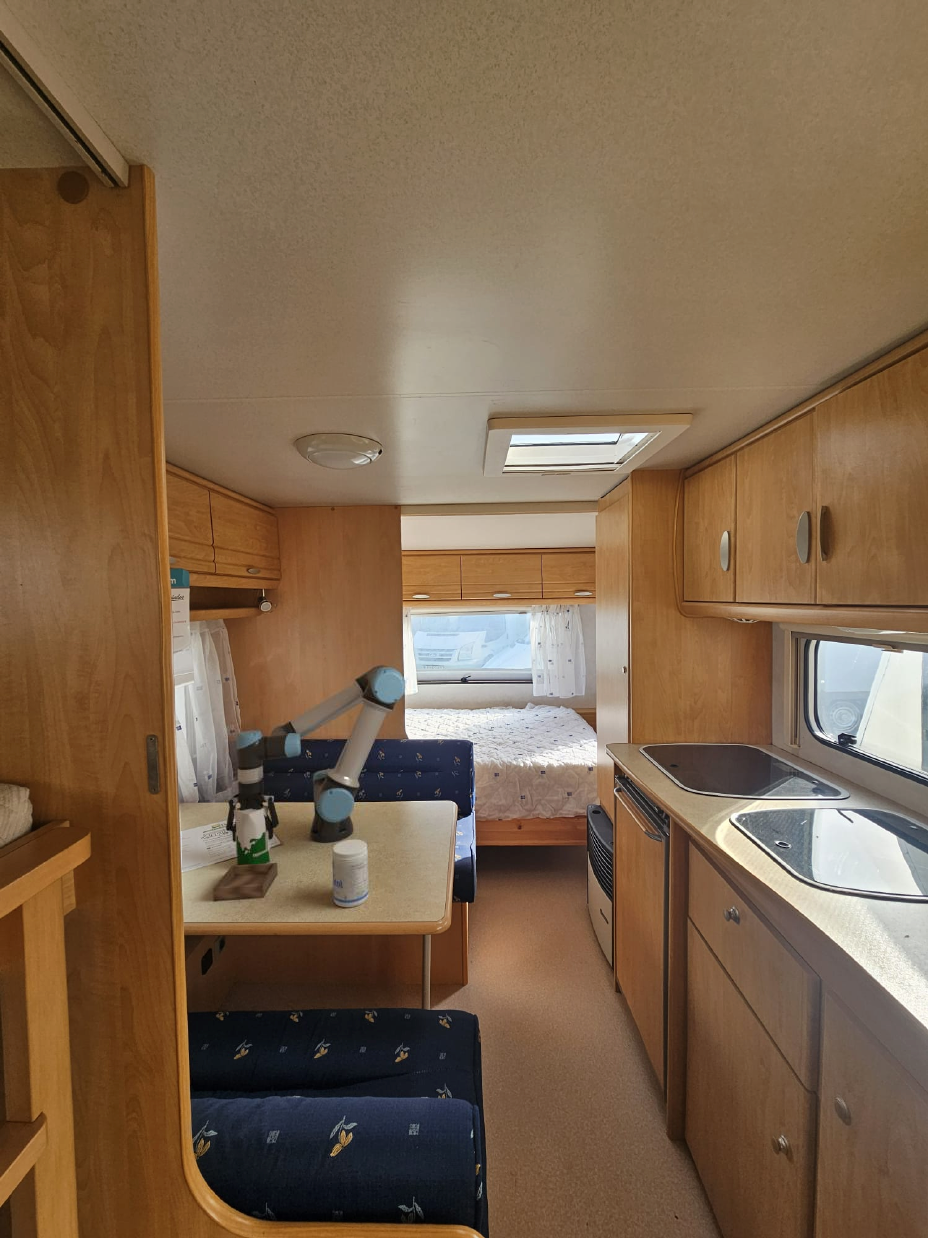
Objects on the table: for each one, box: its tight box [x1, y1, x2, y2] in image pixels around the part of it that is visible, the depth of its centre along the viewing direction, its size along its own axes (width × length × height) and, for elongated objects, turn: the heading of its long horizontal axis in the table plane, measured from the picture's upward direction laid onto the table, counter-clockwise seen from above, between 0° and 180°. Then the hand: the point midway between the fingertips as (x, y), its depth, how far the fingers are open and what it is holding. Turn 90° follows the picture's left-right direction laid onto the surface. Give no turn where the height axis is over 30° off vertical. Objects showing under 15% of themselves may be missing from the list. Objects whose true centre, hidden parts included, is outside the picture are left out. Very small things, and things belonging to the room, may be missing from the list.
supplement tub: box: [331, 839, 370, 908], centre depth 144 cm, size 10×10×15 cm
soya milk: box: [234, 803, 271, 865], centre depth 167 cm, size 9×9×20 cm
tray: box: [212, 862, 278, 902], centre depth 153 cm, size 14×14×4 cm
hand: (253, 850), depth 167 cm, fingers closed on soya milk, 8 cm apart
